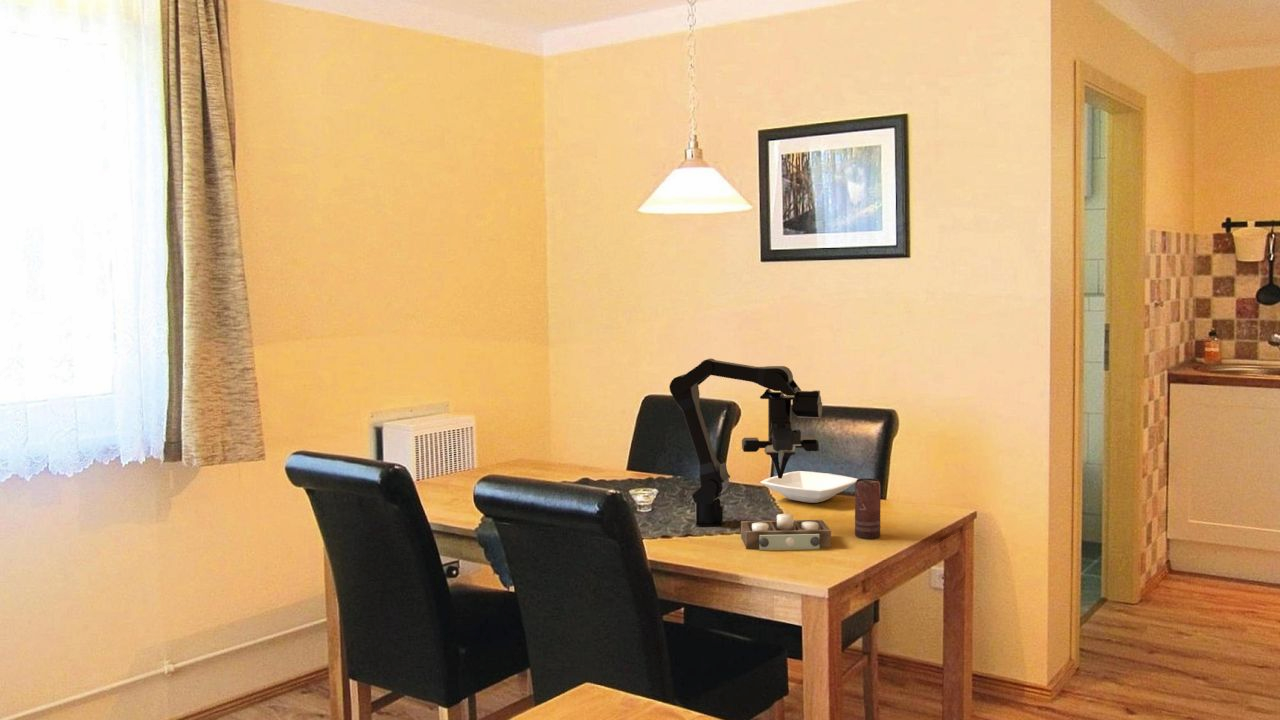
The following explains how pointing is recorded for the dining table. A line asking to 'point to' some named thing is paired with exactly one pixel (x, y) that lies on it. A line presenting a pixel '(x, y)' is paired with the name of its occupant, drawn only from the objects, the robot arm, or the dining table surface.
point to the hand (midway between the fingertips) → (779, 478)
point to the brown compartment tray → (783, 532)
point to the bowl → (809, 485)
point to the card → (789, 542)
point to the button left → (760, 526)
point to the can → (867, 508)
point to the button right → (809, 525)
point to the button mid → (785, 521)
